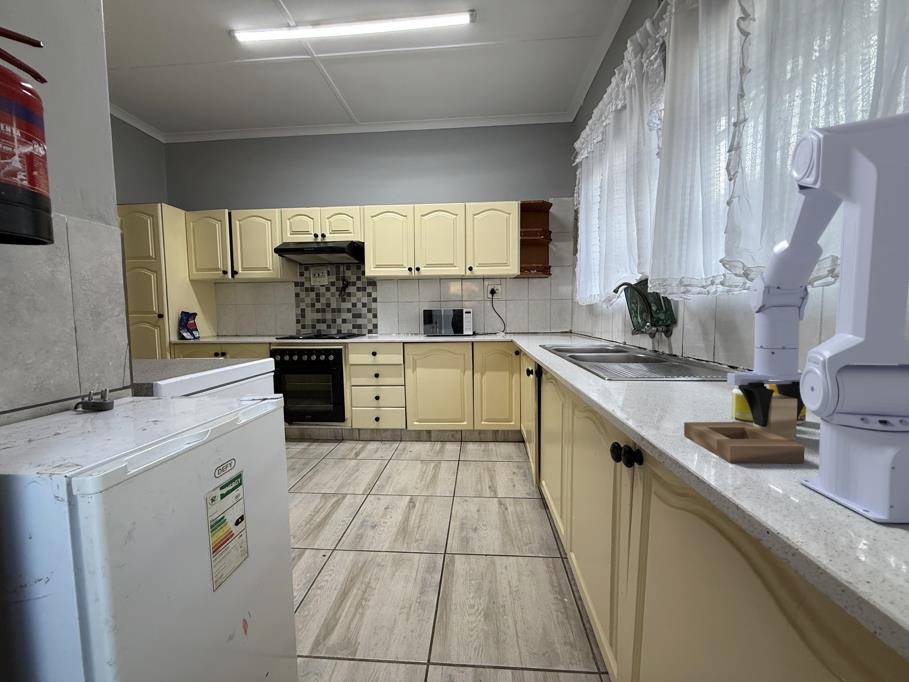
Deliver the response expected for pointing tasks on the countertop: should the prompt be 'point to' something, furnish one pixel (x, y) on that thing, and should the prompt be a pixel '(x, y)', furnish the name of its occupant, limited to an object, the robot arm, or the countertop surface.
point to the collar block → (743, 443)
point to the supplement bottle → (740, 407)
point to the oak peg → (782, 417)
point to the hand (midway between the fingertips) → (774, 425)
